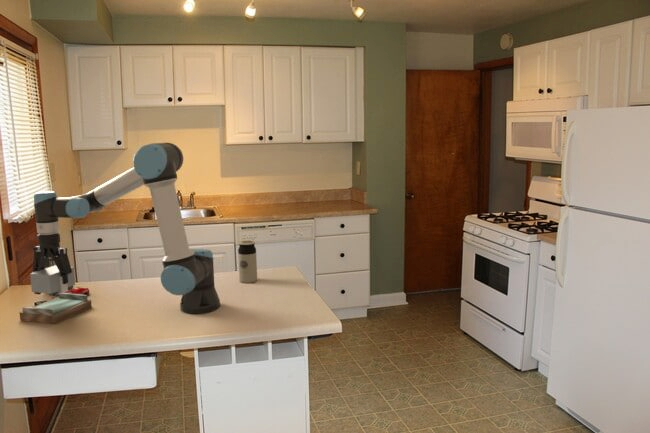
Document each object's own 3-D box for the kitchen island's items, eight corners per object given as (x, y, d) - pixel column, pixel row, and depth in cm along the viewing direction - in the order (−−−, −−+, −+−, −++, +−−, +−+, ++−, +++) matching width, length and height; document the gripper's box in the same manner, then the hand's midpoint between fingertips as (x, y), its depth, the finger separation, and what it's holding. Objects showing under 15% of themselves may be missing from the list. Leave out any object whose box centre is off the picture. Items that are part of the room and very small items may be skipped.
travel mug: (248, 277, 256) (246, 239, 253) (260, 280, 251) (259, 241, 248) (235, 281, 249) (234, 242, 246) (248, 284, 245) (247, 244, 242)
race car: (66, 304, 224) (65, 294, 223) (57, 302, 226) (56, 293, 225) (92, 294, 236) (91, 285, 235) (82, 293, 238) (81, 284, 237)
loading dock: (91, 307, 218) (90, 295, 217) (54, 324, 200) (53, 311, 199) (59, 303, 223) (58, 292, 222) (20, 320, 205) (18, 307, 204)
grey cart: (75, 288, 214) (73, 267, 213) (51, 297, 203) (49, 275, 202) (56, 286, 217) (54, 265, 216) (32, 295, 206) (29, 273, 204)
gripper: (17, 233, 206) (23, 291, 210) (64, 236, 199) (69, 296, 203) (33, 229, 213) (39, 285, 217) (79, 232, 206) (84, 290, 210)
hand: (54, 290), depth 210 cm, fingers closed on grey cart, 9 cm apart
